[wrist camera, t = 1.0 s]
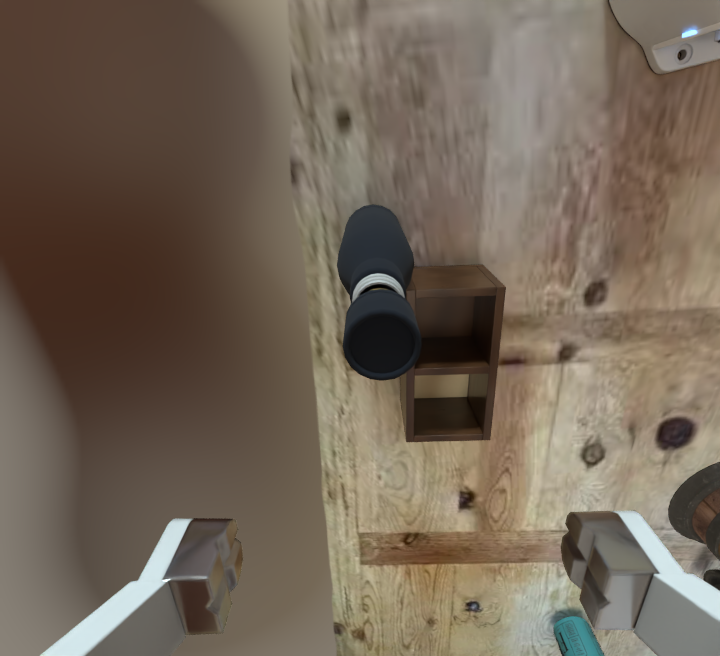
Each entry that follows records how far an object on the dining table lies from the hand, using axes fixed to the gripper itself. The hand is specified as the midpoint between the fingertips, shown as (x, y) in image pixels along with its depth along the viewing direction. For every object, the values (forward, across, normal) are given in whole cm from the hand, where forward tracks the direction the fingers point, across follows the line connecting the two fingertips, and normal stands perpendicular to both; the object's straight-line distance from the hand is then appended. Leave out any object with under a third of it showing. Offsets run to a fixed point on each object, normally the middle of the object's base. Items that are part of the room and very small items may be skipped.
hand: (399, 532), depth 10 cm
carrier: (+41, -8, +13) cm, 43 cm away
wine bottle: (+41, 0, 0) cm, 41 cm away
